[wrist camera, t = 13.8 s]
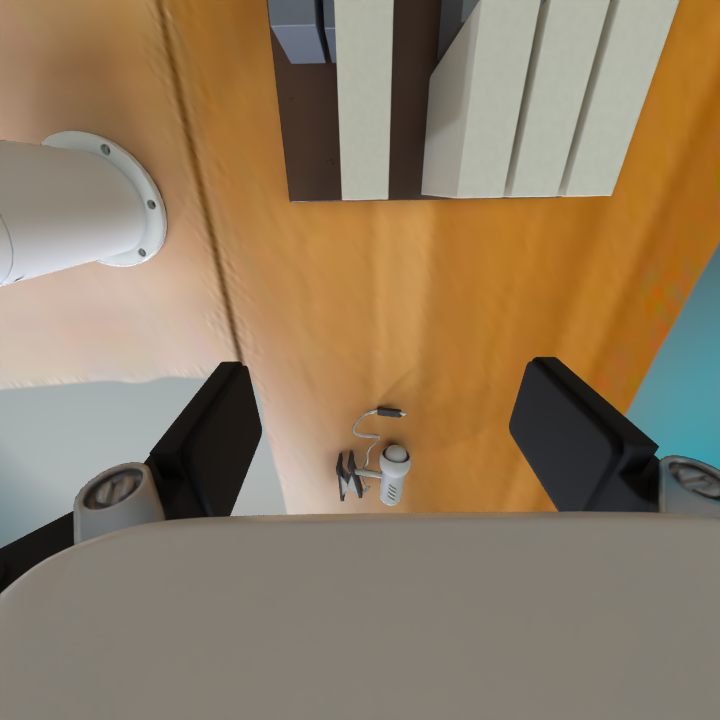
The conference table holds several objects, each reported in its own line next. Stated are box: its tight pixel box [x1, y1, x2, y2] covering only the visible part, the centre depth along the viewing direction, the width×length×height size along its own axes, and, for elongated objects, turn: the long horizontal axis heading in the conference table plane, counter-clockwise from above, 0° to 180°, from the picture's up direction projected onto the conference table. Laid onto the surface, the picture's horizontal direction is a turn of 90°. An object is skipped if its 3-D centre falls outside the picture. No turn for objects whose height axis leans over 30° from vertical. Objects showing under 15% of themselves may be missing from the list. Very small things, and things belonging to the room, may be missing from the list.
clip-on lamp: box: [336, 407, 411, 506], centre depth 48 cm, size 12×6×18 cm
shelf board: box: [267, 0, 562, 202], centre depth 27 cm, size 28×20×2 cm
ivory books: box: [421, 0, 679, 198], centre depth 23 cm, size 10×9×13 cm
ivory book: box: [334, 0, 394, 200], centre depth 23 cm, size 3×9×13 cm, turn 1°
